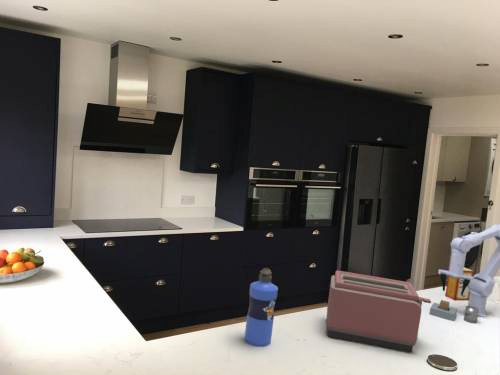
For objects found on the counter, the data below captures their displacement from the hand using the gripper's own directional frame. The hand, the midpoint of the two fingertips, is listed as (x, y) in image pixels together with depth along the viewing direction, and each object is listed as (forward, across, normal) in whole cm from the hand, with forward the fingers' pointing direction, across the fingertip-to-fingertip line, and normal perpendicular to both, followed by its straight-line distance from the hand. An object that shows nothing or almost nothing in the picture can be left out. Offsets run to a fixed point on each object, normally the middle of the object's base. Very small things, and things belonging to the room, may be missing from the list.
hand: (452, 292), depth 199 cm
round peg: (+10, +9, -4) cm, 14 cm away
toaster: (+10, -20, -56) cm, 60 cm away
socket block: (+9, -2, -6) cm, 11 cm away
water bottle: (+10, -49, -92) cm, 105 cm away
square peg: (+10, -2, -6) cm, 11 cm away
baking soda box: (+10, 0, +29) cm, 31 cm away
